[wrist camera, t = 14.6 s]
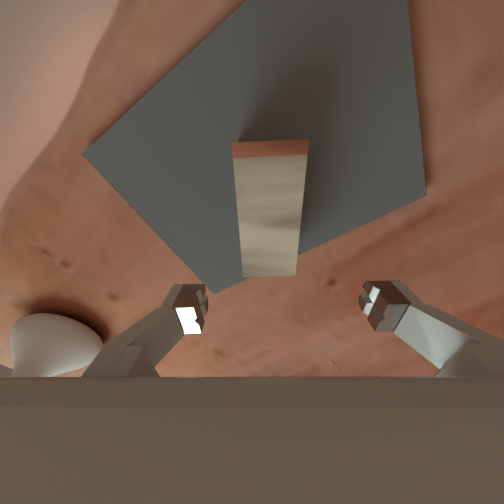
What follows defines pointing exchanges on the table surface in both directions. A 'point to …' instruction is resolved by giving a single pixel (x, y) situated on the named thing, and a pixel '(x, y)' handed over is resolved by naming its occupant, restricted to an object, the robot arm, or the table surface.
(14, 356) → the flower in vase
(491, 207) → the table surface
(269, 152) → the birch block
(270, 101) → the slate mat
